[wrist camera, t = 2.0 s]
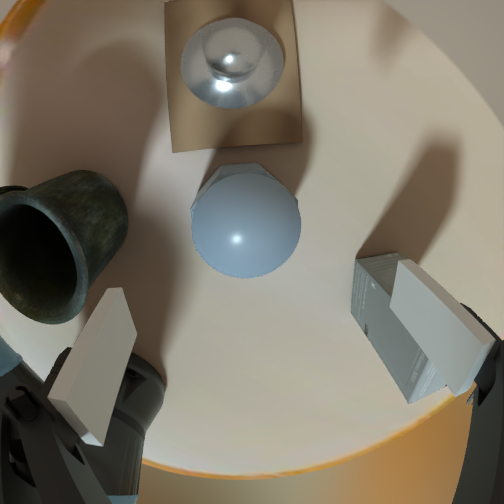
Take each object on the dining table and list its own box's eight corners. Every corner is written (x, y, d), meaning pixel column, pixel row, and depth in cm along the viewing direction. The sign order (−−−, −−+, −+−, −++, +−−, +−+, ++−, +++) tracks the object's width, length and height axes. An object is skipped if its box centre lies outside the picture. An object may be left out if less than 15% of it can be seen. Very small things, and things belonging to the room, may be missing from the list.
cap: (204, 249, 30) (199, 282, 23) (194, 168, 26) (184, 180, 20) (284, 241, 30) (300, 272, 24) (282, 161, 27) (300, 170, 20)
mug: (112, 278, 30) (71, 347, 19) (20, 219, 26) (-43, 261, 15) (151, 197, 27) (107, 242, 16) (46, 136, 23) (-30, 150, 12)
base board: (174, 152, 26) (172, 153, 25) (166, 6, 19) (164, 2, 18) (299, 142, 26) (302, 142, 25) (288, -2, 20) (290, -6, 19)
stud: (185, 114, 23) (172, 108, 17) (180, 27, 20) (168, 1, 14) (284, 106, 24) (302, 99, 18) (277, 21, 20) (292, -6, 14)
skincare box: (353, 257, 32) (428, 346, 17) (403, 249, 32) (486, 322, 18) (348, 315, 35) (402, 410, 21) (394, 305, 36) (456, 386, 21)
